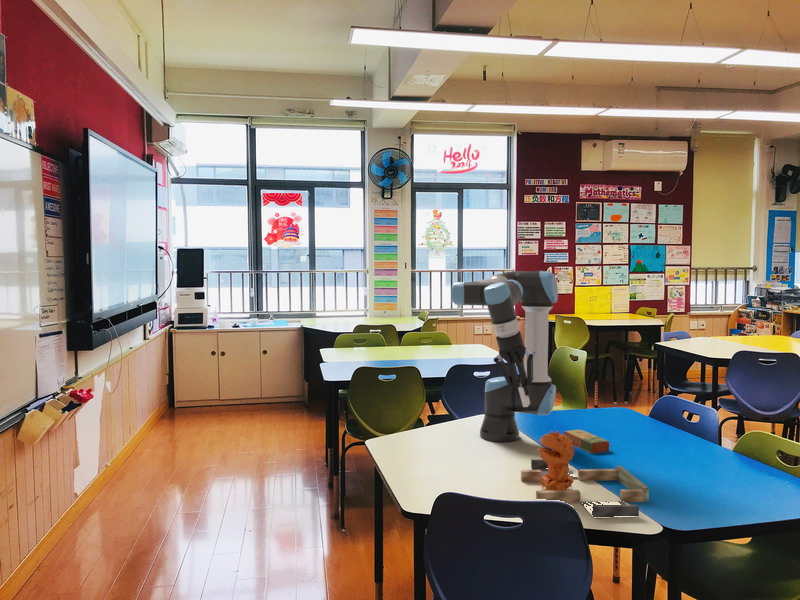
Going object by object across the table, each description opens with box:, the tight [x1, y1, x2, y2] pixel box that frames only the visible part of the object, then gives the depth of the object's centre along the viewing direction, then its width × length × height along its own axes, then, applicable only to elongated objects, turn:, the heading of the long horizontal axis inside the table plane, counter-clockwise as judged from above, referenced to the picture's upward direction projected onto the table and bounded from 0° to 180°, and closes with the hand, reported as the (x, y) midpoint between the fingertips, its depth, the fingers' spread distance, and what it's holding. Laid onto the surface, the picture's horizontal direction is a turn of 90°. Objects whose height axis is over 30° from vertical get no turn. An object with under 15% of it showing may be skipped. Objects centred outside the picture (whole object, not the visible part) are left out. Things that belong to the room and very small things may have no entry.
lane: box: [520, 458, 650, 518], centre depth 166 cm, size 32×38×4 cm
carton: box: [563, 429, 610, 455], centre depth 209 cm, size 8×16×4 cm, turn 20°
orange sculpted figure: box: [537, 429, 575, 491], centre depth 165 cm, size 11×11×18 cm
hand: (526, 405), depth 174 cm, fingers closed
